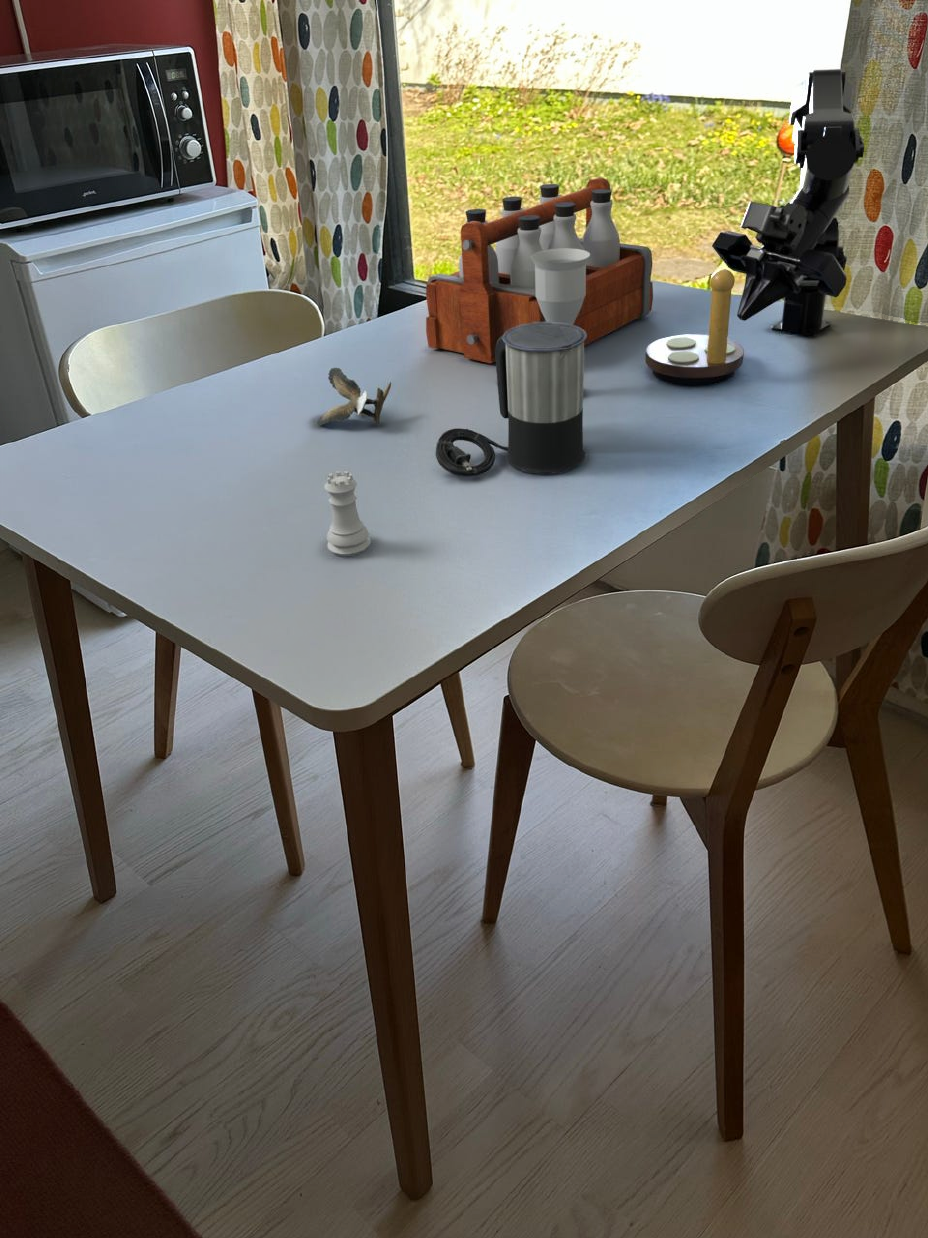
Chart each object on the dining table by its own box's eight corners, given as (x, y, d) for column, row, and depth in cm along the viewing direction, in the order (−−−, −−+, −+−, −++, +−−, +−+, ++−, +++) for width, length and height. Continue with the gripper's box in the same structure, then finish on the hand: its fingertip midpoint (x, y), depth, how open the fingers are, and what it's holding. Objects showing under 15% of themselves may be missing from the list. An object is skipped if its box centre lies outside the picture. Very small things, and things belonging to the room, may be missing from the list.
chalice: (588, 384, 139) (590, 247, 129) (589, 403, 134) (590, 261, 124) (534, 385, 140) (531, 249, 130) (532, 404, 135) (529, 263, 125)
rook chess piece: (328, 538, 108) (317, 468, 103) (371, 534, 108) (362, 464, 103) (327, 560, 104) (316, 488, 100) (371, 555, 104) (362, 484, 100)
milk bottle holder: (416, 354, 154) (404, 218, 143) (552, 292, 176) (551, 170, 165) (530, 380, 142) (526, 234, 131) (661, 310, 164) (667, 180, 153)
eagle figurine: (396, 400, 136) (333, 384, 137) (388, 368, 129) (322, 351, 131) (376, 448, 133) (311, 432, 135) (367, 418, 126) (299, 401, 128)
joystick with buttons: (678, 339, 148) (683, 243, 141) (760, 355, 140) (771, 255, 133) (626, 366, 140) (629, 266, 133) (711, 385, 133) (719, 280, 125)
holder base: (679, 352, 148) (680, 344, 147) (749, 367, 141) (750, 358, 141) (636, 375, 141) (636, 367, 140) (707, 392, 135) (708, 383, 134)
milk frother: (602, 455, 120) (604, 330, 112) (511, 505, 112) (506, 372, 103) (512, 426, 129) (508, 308, 121) (421, 470, 120) (409, 345, 112)
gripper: (727, 165, 134) (660, 269, 136) (844, 184, 121) (769, 298, 122) (764, 218, 142) (700, 315, 144) (878, 241, 129) (806, 348, 130)
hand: (740, 318), depth 135 cm, fingers closed
